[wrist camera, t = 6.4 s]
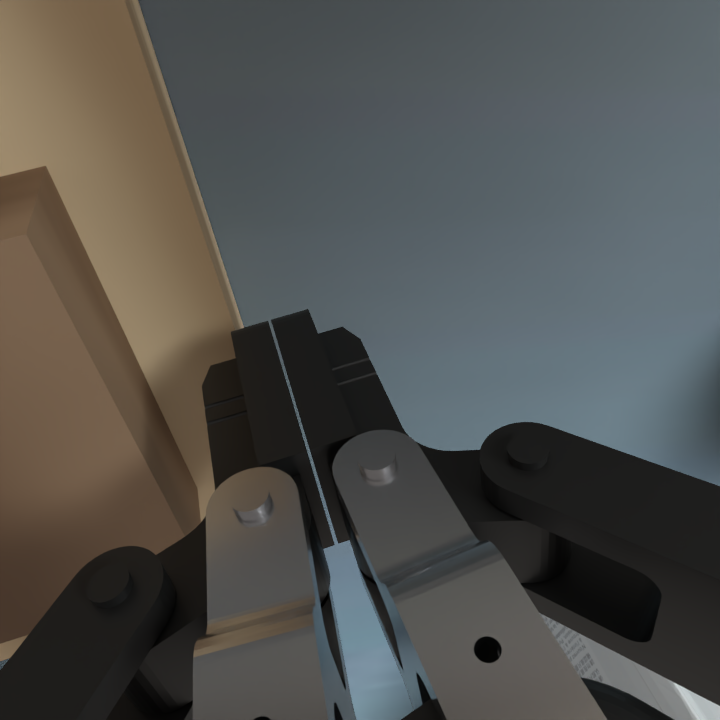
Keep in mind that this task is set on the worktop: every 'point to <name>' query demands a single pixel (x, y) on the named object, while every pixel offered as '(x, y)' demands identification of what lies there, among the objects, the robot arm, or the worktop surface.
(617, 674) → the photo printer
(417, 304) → the worktop surface
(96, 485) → the walnut tile
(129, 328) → the oak deck
